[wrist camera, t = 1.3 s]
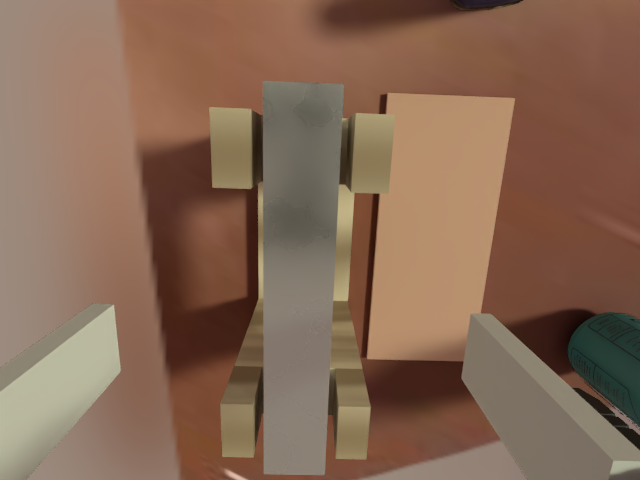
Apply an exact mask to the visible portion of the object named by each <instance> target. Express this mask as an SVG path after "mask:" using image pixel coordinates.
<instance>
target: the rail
mask: <svg viewBox="0 0 640 480" xmlns="http://www.w3.org/2000/svg"><path fill="white" fill-rule="evenodd" d="M343 95H344V84H329V83H305V82H281V81H263V334H264V474H287V475H325V458H326V438H327V418H328V398H329V377H330V357H331V337H332V317H333V297H334V276H335V256H336V236H337V216H338V196H339V176H340V155H341V135H342V115H343Z"/></svg>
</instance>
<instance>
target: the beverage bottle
mask: <svg viewBox="0 0 640 480" xmlns="http://www.w3.org/2000/svg"><path fill="white" fill-rule="evenodd" d="M630 315H631V314H630ZM636 318H637V316H636ZM636 318H634V316H633V317H632V316H629V315H626V313H615V312H608V313H602V314H599V315H596V316H594V317H591V318H590V319H588V320H586V321H585V322H583V323H582V324H581V325H580V326H579V327H578V328H577V329H576V331H575V332H574V333H573V335H572V337H571V339H570V342H569V345H568V358H569V361H570V363H571V365H572V368H573V370H575V371H576V373H577V374H578V375H579V376H580V377H582V378H583V379H584V380H585V381H586V382H588V383H589V385H591V386H592V387H593V388H594V389H596V390H597V392H599V393H600V394H602V395H603V396H604V397H605V398H606V399H608V400H609V401H610V402H611V403H612V404H613V405H615V406H616V407H617V408H618V409H619V410H620V411H622V412H623V413H624V414H625V415H627V417H628V418H630V419H631V420H632V421H633V422H635V423H636V424H637V425H638V426H639V427H640V319H636ZM575 371H574V372H575ZM576 373H575V374H576ZM581 380H582V379H581ZM582 381H583V380H582ZM585 381H583V382H585ZM586 382H585V383H586ZM588 383H587V384H588ZM589 385H588V386H589ZM589 387H590V386H589ZM590 388H591V387H590ZM591 389H592V388H591ZM595 392H596V391H595ZM597 392H596V393H597ZM597 394H598V393H597ZM598 395H599V394H598ZM602 398H603V397H602ZM603 399H604V398H603ZM604 400H605V399H604ZM605 401H606V400H605ZM609 404H610V403H609ZM610 405H611V404H610ZM611 406H612V405H611ZM612 407H614V406H612ZM621 414H622V413H621Z"/></svg>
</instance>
